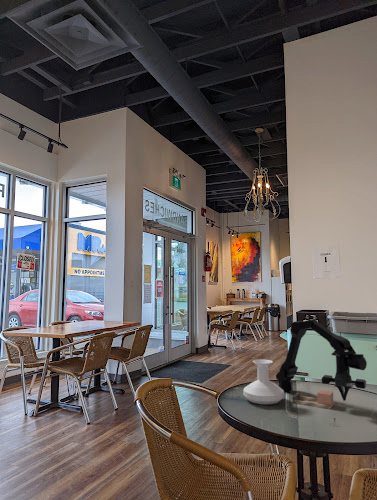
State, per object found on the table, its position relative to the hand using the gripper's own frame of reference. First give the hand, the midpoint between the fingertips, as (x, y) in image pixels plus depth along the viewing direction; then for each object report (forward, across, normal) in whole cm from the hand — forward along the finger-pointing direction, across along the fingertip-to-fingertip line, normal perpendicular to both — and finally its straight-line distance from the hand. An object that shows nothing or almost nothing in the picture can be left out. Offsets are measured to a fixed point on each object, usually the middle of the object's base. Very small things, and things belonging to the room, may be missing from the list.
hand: (344, 400), depth 169 cm
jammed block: (+4, -8, 0) cm, 9 cm away
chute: (+4, -14, 0) cm, 15 cm away
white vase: (+4, -36, -8) cm, 38 cm away
